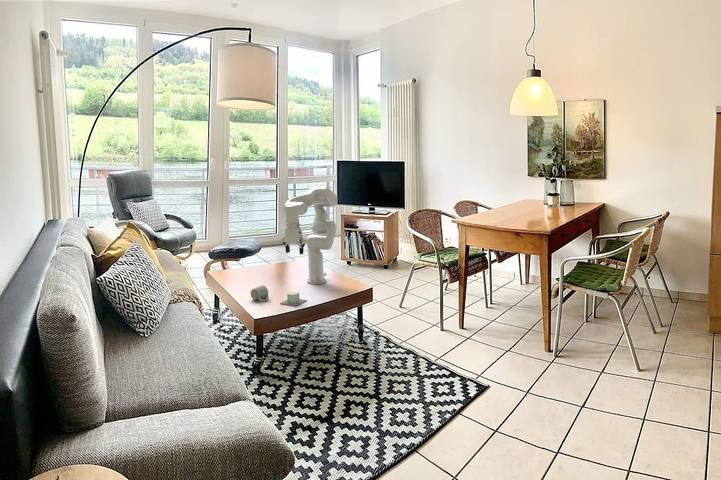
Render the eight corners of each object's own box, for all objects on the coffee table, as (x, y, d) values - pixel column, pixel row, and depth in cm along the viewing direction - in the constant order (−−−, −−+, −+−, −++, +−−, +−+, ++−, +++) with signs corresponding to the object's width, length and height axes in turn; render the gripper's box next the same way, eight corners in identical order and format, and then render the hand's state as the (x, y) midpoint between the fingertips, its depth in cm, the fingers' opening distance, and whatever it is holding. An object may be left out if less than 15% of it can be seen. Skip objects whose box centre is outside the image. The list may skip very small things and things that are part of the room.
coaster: (291, 298, 280) (291, 297, 280) (306, 300, 275) (306, 300, 275) (280, 303, 270) (280, 303, 270) (296, 306, 265) (296, 305, 265)
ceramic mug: (249, 299, 279) (249, 287, 278) (261, 296, 285) (260, 283, 284) (261, 303, 272) (260, 290, 271) (272, 299, 279) (271, 287, 277)
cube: (292, 299, 276) (292, 291, 275) (299, 300, 273) (299, 292, 272) (287, 302, 271) (287, 293, 270) (294, 303, 269) (294, 295, 268)
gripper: (308, 225, 278) (310, 253, 282) (284, 223, 285) (286, 250, 290) (301, 227, 271) (303, 256, 276) (277, 225, 279) (279, 253, 283)
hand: (294, 253), depth 283 cm, fingers open, 9 cm apart
